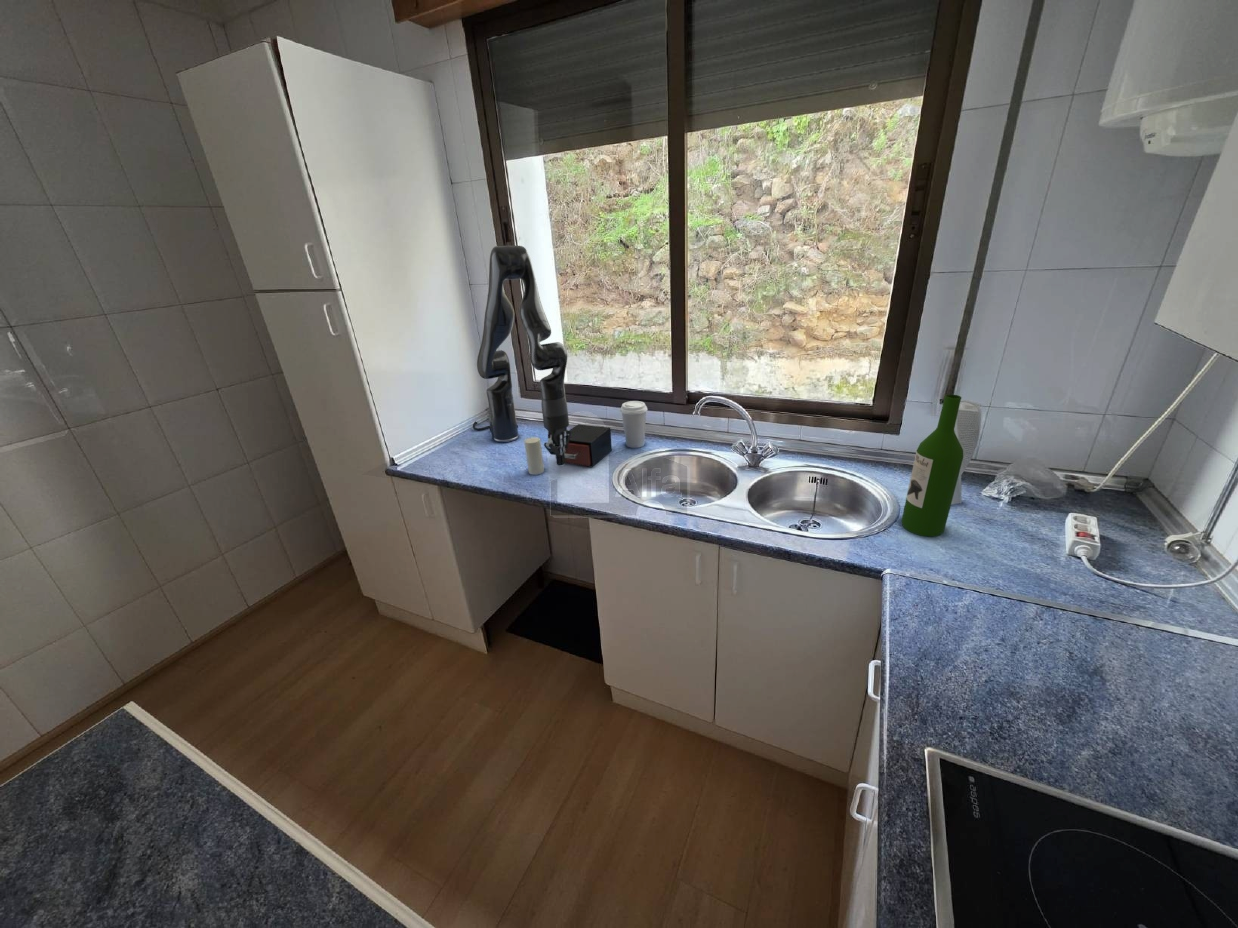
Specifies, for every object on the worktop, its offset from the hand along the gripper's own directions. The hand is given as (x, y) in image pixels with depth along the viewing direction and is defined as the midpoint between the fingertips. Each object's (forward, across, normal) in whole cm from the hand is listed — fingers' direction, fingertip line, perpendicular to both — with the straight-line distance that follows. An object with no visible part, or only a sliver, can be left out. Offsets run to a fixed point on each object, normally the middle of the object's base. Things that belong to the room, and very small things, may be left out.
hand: (561, 464), depth 152 cm
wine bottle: (+5, -2, +98) cm, 99 cm away
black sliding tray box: (+4, -17, 0) cm, 17 cm away
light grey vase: (+5, -18, +105) cm, 107 cm away
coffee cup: (+4, -32, +12) cm, 34 cm away
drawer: (+3, -13, 0) cm, 13 cm away
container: (+4, -1, -10) cm, 11 cm away
